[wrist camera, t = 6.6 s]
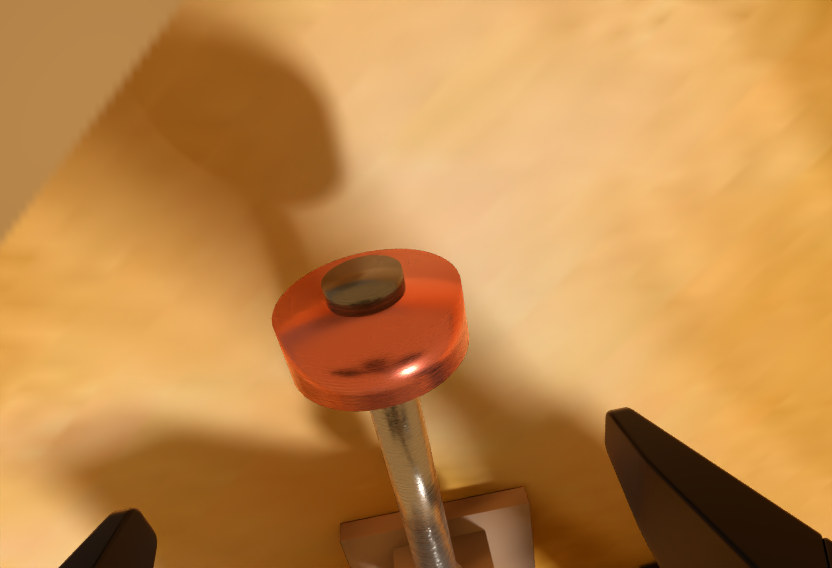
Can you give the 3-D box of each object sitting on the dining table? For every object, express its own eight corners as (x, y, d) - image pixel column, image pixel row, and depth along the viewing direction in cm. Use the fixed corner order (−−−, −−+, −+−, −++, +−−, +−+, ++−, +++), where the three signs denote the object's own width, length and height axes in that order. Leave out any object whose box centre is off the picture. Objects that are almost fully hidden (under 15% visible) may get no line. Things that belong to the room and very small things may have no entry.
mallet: (442, 219, 16) (476, 306, 11) (490, 532, 24) (522, 656, 19) (278, 251, 16) (248, 352, 11) (382, 554, 24) (389, 683, 19)
